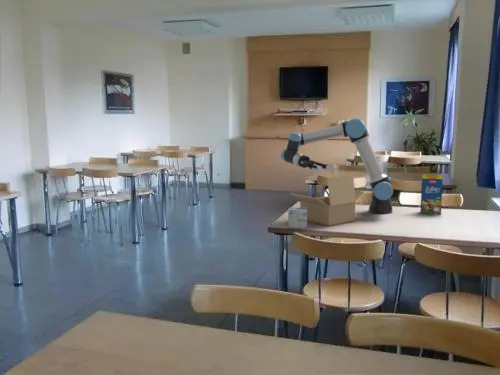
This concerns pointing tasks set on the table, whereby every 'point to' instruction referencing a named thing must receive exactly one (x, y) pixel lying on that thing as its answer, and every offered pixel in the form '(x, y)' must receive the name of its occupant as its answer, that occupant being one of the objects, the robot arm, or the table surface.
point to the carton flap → (341, 190)
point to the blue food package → (431, 194)
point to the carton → (328, 210)
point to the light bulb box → (297, 218)
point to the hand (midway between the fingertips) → (328, 169)
